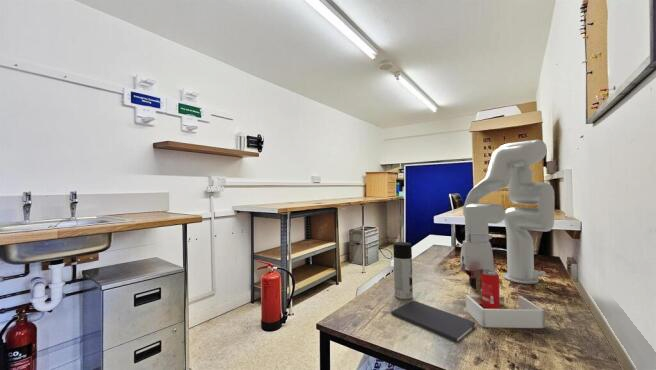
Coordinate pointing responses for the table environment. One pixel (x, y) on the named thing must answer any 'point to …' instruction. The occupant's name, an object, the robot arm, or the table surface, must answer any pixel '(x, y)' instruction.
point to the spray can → (403, 270)
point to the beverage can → (490, 289)
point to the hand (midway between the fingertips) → (477, 287)
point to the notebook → (435, 320)
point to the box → (508, 315)
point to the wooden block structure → (477, 293)
